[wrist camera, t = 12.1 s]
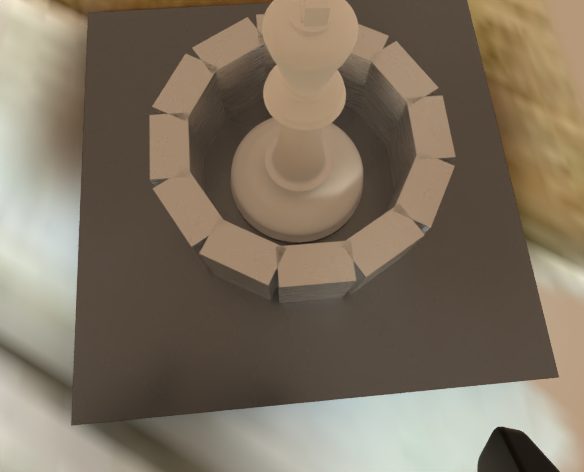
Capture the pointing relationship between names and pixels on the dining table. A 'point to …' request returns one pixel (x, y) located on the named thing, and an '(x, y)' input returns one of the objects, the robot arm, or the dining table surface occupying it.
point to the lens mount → (293, 255)
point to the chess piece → (301, 127)
